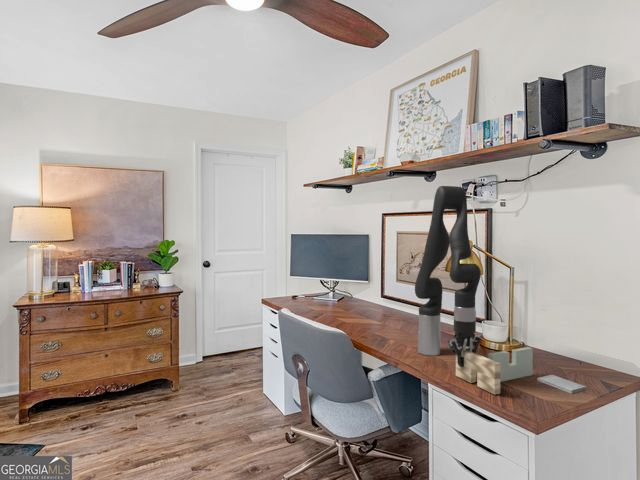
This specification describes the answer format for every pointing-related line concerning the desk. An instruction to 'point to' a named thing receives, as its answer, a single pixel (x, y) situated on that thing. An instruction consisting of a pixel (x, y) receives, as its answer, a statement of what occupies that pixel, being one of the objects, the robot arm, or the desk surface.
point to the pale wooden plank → (480, 371)
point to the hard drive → (562, 383)
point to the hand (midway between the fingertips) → (464, 365)
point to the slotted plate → (514, 363)
